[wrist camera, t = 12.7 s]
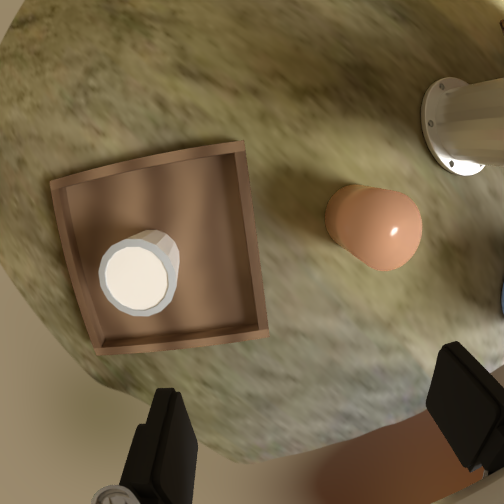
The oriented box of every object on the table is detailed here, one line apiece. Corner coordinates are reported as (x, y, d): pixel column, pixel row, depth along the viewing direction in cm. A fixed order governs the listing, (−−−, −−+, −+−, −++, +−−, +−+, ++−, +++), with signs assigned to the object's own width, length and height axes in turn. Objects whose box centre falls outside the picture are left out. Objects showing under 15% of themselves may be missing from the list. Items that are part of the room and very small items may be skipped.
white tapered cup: (111, 265, 31) (86, 289, 25) (141, 210, 30) (120, 222, 23) (165, 299, 33) (152, 331, 26) (198, 246, 32) (192, 268, 25)
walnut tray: (242, 142, 30) (244, 140, 28) (266, 325, 35) (269, 336, 33) (60, 179, 29) (49, 181, 27) (103, 344, 35) (96, 355, 32)
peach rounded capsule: (381, 181, 32) (421, 188, 25) (384, 243, 34) (421, 264, 26) (321, 187, 32) (350, 194, 24) (327, 252, 34) (355, 277, 26)
